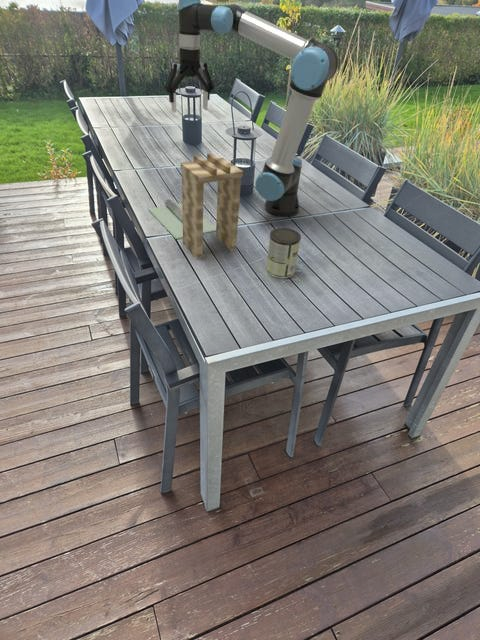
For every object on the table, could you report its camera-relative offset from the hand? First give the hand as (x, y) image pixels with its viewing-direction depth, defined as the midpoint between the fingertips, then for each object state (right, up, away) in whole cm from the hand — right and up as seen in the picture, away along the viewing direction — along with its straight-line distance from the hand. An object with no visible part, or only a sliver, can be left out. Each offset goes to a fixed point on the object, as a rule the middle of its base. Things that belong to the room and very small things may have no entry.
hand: (189, 110), depth 173 cm
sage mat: (-4, -42, +6) cm, 43 cm away
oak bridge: (+8, -56, -10) cm, 57 cm away
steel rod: (-5, -41, +6) cm, 42 cm away
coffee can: (+34, -66, -19) cm, 77 cm away
